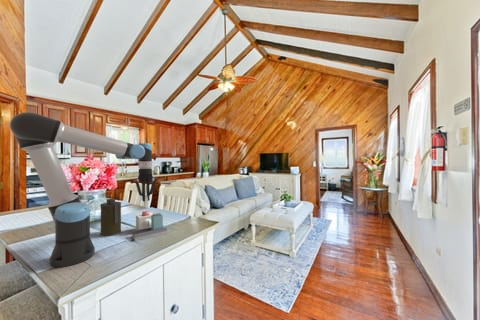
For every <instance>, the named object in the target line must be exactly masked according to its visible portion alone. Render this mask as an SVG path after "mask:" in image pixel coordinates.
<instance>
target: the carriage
mask: <svg viewBox="0 0 480 320" xmlns="http://www.w3.org/2000/svg"><path fill="white" fill-rule="evenodd" d="M163 216H164V215H163V214H162V213H160V212H157V213H153V214H152V215H151V230H156V229H161V228H164V224H163V222H164V221H163V219H164V218H163Z"/></svg>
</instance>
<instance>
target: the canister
mask: <svg viewBox="0 0 480 320" xmlns="http://www.w3.org/2000/svg"><path fill="white" fill-rule="evenodd" d="M99 205H100V233H99V235H100V236H101V237H111V236H115V235H118V234H120V233H121V232H122V201H121V202H120V201H116V199H115V198H107V199H106V202H103V203H101V204H99Z"/></svg>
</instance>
